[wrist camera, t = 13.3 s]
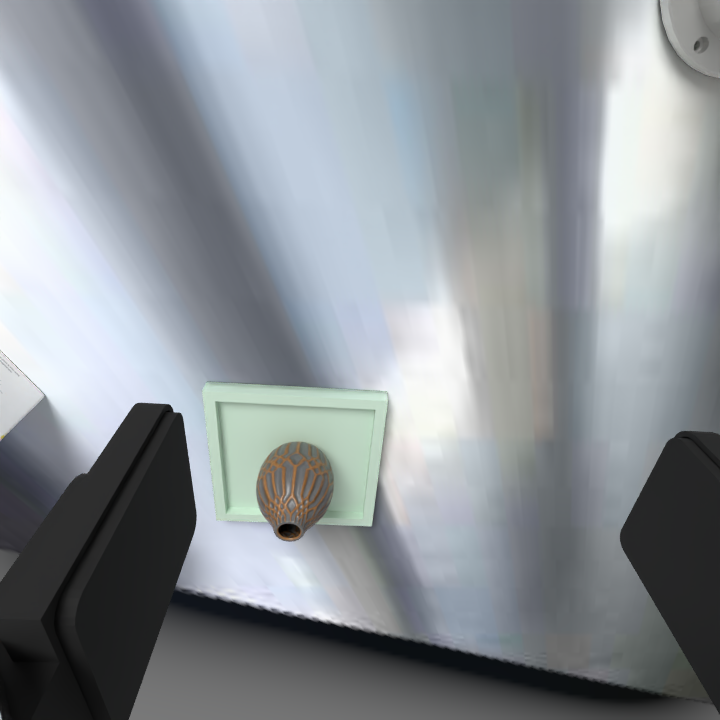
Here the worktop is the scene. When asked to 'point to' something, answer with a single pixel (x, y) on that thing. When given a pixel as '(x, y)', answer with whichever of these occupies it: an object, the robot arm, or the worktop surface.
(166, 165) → the worktop surface
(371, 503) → the tray
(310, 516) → the vase
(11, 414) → the ink box
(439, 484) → the worktop surface
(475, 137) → the worktop surface
